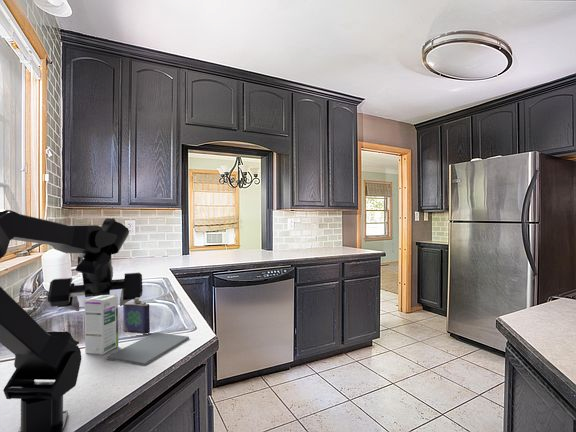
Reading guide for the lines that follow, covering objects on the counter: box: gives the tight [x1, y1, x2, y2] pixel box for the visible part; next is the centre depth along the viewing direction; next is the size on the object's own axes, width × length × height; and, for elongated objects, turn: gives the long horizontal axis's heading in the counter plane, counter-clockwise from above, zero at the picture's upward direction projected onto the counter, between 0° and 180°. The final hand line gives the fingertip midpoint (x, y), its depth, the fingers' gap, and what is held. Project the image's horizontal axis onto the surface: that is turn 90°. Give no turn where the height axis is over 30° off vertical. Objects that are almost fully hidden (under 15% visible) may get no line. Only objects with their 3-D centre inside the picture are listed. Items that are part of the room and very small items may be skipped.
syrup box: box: [84, 294, 119, 356], centre depth 86 cm, size 6×6×14 cm
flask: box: [122, 297, 151, 335], centre depth 100 cm, size 9×3×11 cm, turn 76°
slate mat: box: [106, 332, 190, 366], centre depth 87 cm, size 18×12×1 cm, turn 163°
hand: (100, 306), depth 80 cm, fingers open, 9 cm apart
